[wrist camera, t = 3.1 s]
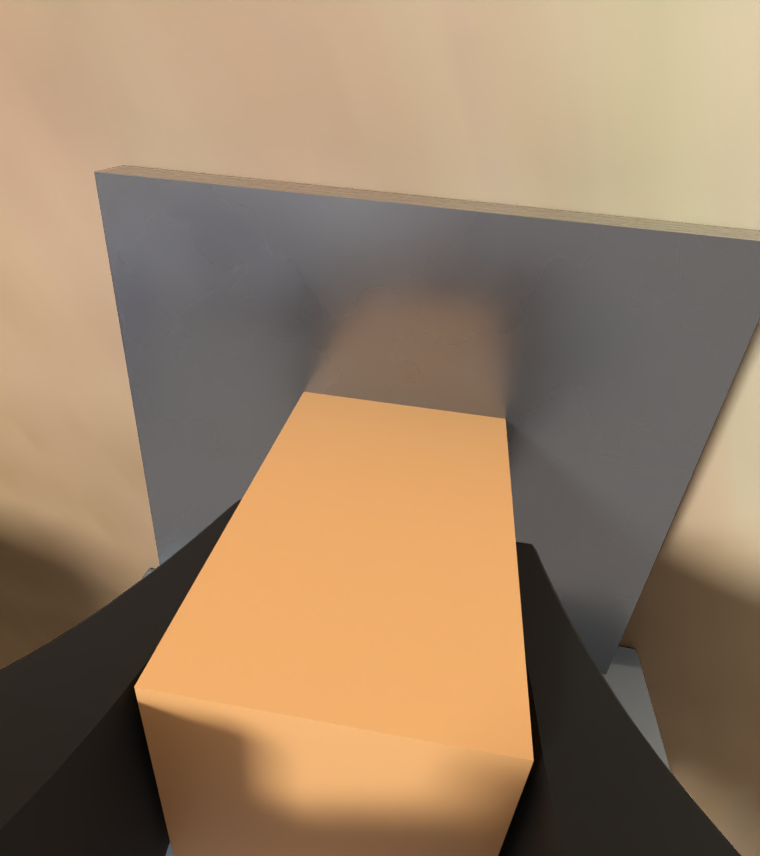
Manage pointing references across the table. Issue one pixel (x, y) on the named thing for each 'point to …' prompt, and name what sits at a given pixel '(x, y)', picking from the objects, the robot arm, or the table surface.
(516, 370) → the stud plate
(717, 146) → the table surface
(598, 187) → the table surface
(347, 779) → the orange rectangular block
